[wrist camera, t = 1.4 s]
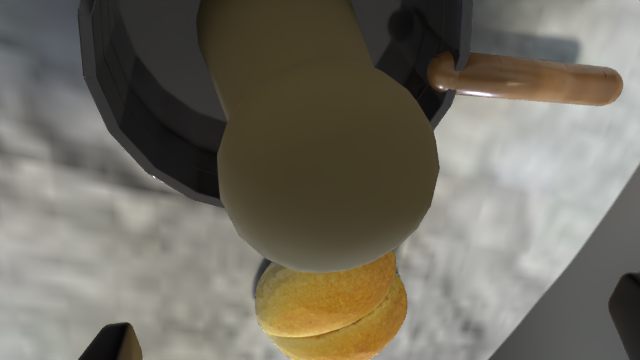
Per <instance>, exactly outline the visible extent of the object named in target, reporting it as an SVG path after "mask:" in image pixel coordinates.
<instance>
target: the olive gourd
mask: <svg viewBox="0 0 640 360" xmlns="http://www.w3.org/2000/svg"><path fill="white" fill-rule="evenodd" d="M196 27H197V37H198V46H199V48H200V51H201V54H202V56H203V59H204V61H205V64H206V66H207V69H208V72H209V74H210V77H211V79H212V82H213V85H214V87H215V90H216V92H217V95H218V98H219V100H220V103H221V105H222V108H223V110H224V113H225V116H226V118H227V121H228V122H227V125H226V128H225V131H224V134H223V137H222V141H221V144H220V147H219V151H218V154H217V164H218V179H219V191H220V199H221V201H222V203H223V205H224V207H225V209H226V211H227V213H228V215H229V217H230V219H231V221H232V223H233V225H234V227H235V229H236V231H237V232H238V234H239V236H240V237H241V238H242V239H243V240H245V241H246V242H247V243H248V244H249V245H250V246H251V247H253V248H254V249H255V250H256V251H257V252H258V253H260V254H261V255H262V256H264V257H265V258H267V259H268V260H270V261H272V262H274V263H277V264H279V265H282V266H284V267H287V268H289V269H291V270H295V271H303V272H312V273H329V272H337V271H346V270H350V269H353V268H356V267H359V266H362V265H365V264H368V263H370V262H373V261H375V260H377V259H379V258H380V257H382V256H384V255H385V254H387V253H389V252H390V251H392V250H394V249H395V248H397V247H398V246H399V245H400V244H401V243H402V242H403V241H404V240H405V239H407V238H408V237H409V236H410V235H411V234H412V233H413V232H414V231H415V230H416V229H417V228H418V226H419V224H420V223H421V221H422V219H423V218H424V216H425V214H426V213H427V211H428V209H429V208H430V206H431V202H432V198H433V194H434V190H435V186H436V181H437V177H438V173H439V169H440V167H439V160H438V153H437V146H436V140H435V136H434V132H433V128H432V125H431V124H430V122H429V120H428V119H427V117H426V115H425V114H424V112H423V111H422V109H421V107H420V106H419V104H418V102H417V101H416V100H415V98H414V97H413V96H412V95H411V93H410V92H409V91H408V90H407V89H406V88H404V87H403V86H402V85H400V84H399V83H398V82H396V81H395V80H394V79H392V78H391V77H390V76H388V75H387V74H386V73H384V72H383V71H381V70H379V69H377V68H374V66H373V63H372V60H371V57H370V55H369V52H368V49H367V46H366V43H365V40H364V37H363V34H362V32H361V29H360V26H359V23H358V20H357V17H356V14H355V12H354V9H353V6H352V3H351V0H201V1H200V5H199V9H198V14H197V18H196Z"/></svg>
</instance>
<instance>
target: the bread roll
mask: <svg viewBox="0 0 640 360" xmlns="http://www.w3.org/2000/svg"><path fill="white" fill-rule="evenodd" d="M395 271H396V259H395V256H394V253H393V252H392V251H390V252H389V253H387V254H385V255H384V256H382V257H380V258H379V259H377V260H375V261H373V262H370V263H368V264H365V265H362V266H359V267H356V268H353V269H350V270H346V271H337V272H329V273H312V272H303V271H295V270H291V269H289V268H287V267H284V266H282V265H279V264H277V263H274V262H271V264H270V265H269V266H268V267H267V268H266V270H265V271H264V273H263V275H262V276H261V278H260V280H259V282H258V285H257V288H256V296H255V314H256V319H257V321H258V324H259V325H260V327H261V328H262V329H263V331H264V332H265V333H266V334H267V335H268V336H269V338H270V339H271V340H272V342H273V343H274V344H275V345H276V346H277V347H278V348H279V349H280V350H281V351H282V352H283V353H284V354H285V355H286V356H287V357H289V358H291V359H293V360H369V359H370V358H372V357H374V356H375V355H377V354H378V353H379V352H380V351H381V350H383V349H384V348H385V347H386V346H387V345H388V344H389V343H390V341H391V340H392V339H393V338H394V337H395V335H396V334H397V332H398V331H399V329H400V328H401V326H402V324H403V321H404V320H405V317H406V314H407V294H406V291H405V288H404V285H403V283H402V281H401V280H400V278H399V276H398V275H397V274H396V272H395Z"/></svg>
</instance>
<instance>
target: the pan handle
mask: <svg viewBox="0 0 640 360" xmlns="http://www.w3.org/2000/svg"><path fill="white" fill-rule="evenodd" d="M427 79H428V81H429V84H430V85H431V86H432V88H434V89H435V90H436V91H438V92H441V93H442V92H445V91H446V90H447V89H452V90H456V94H455V95H467V96H479V97H492V98H504V99H516V100H528V101H541V102H553V103H565V104H578V105H590V106H604V105H608V104H610V103H612V102H614V101H615V100H616V99H617V98H618V97H619V96H620V94H621V92H622V89H623V80H622V78H621V76H620V74H619V73H618V72H617V71H615V70H614V69H612V68H608V67H602V66H592V65H583V64H574V63H564V62H555V61H546V60H536V59H527V58H518V57H508V56H499V55H490V54H480V53H471V52H470V54H469V58H468V61H467V64H466V67H465V69H464V71H455V70H454V59H453V56H452V54H451V53H450V52H449V51H443V52H440V53H438V54H437V55H435V56H434V57H433V58H432V60H431V61H430V62H429V65H428V68H427Z"/></svg>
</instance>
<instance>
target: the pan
mask: <svg viewBox="0 0 640 360" xmlns="http://www.w3.org/2000/svg"><path fill="white" fill-rule="evenodd" d="M200 1H201V0H81V1H80V4H79V8H78V25H79V35H80V46H81V57H82V68H83V76H84V80H85V82H86V84H87V86H88V88H89V90H90V93H91V95H92V97H93V99H94V101H95V103H96V106H97V108H98V110H99V112H100V114H101V116H102V119H103V121H104V123H105V125H106V127H107V129H108V131H109V132H110V134H111V135H112V136H113V137H114V138H115V139H116V140H117V141H118V142H119V143H120V145H121V146H122V147H123V148H124V149H125V150H126V151H127V152H128V153H129V154H130V155H131V156H132V157H133V158H134V160H135V161H136V162H137V163H138V164H139V165H140V166H141V167H142V168H143V169H144V170H145V171H146V172H147V173H148V174H150V175H151V176H153V177H155V178H156V179H158V180H160V181H162V182H163V183H165V184H167V185H168V186H170V187H172V188H173V189H175V190H177V191H179V192H180V193H182V194H184V195H185V196H187V197H189V198H191V199H193V200H195V201H199V202H203V203H207V204H210V205H214V206H218V207H222V208H225V207H224V205H223V203H222V201H221V199H220V191H219V179H218V164H217V154H218V151H219V147H220V144H221V141H222V137H223V134H224V131H225V128H226V125H227V122H228V121H227V118H226V116H225V113H224V110H223V108H222V105H221V103H220V100H219V98H218V95H217V92H216V90H215V87H214V85H213V82H212V79H211V77H210V74H209V72H208V69H207V66H206V64H205V61H204V59H203V56H202V54H201V51H200V48H199V46H198V37H197V27H196V18H197V14H198V9H199V5H200ZM351 3H352V6H353V9H354V12H355V14H356V17H357V20H358V23H359V26H360V29H361V32H362V34H363V37H364V40H365V43H366V46H367V49H368V52H369V55H370V57H371V60H372V63H373V66H374V68H377V69H379V70H381V71H383V72H384V73H386V74H387V75H388V76H390V77H391V78H392V79H394V80H395V81H396V82H398V83H399V84H400V85H402V86H403V87H404V88H406V89H407V90H408V91H409V92H410V93H411V95H412V96H413V97H414V98H415V100H416V101H417V102H418V104H419V106H420V107H421V109H422V111H423V112H424V114H425V115H426V117H427V119H428V120H429V122H430V124H431V125H432V128H433V131H434V129H435V128H436V126H437V125H438V124H439V122H440V121H441V119H442V118H443V116H444V115H445V114H446V112H447V111H448V109H449V108H450V107H451V105H452V102H453V100H454V97H455V94H456V90H452V89H447V90H446V91H445V92H442V93H441V92H438V91H436V90H435V89H434V88H432V86H431V85H430V84H429V81H428V79H427V68H428V65H429V62H430V61H431V60H432V58H433V57H434V56H435V55H437V54H438V53H440V52H443V51H449V52H450V53H451V54H452V56H453V59H454V70H455V71H464V69H465V67H466V64H467V61H468V58H469V54H470V44H471V27H472V9H473V0H351Z"/></svg>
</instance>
